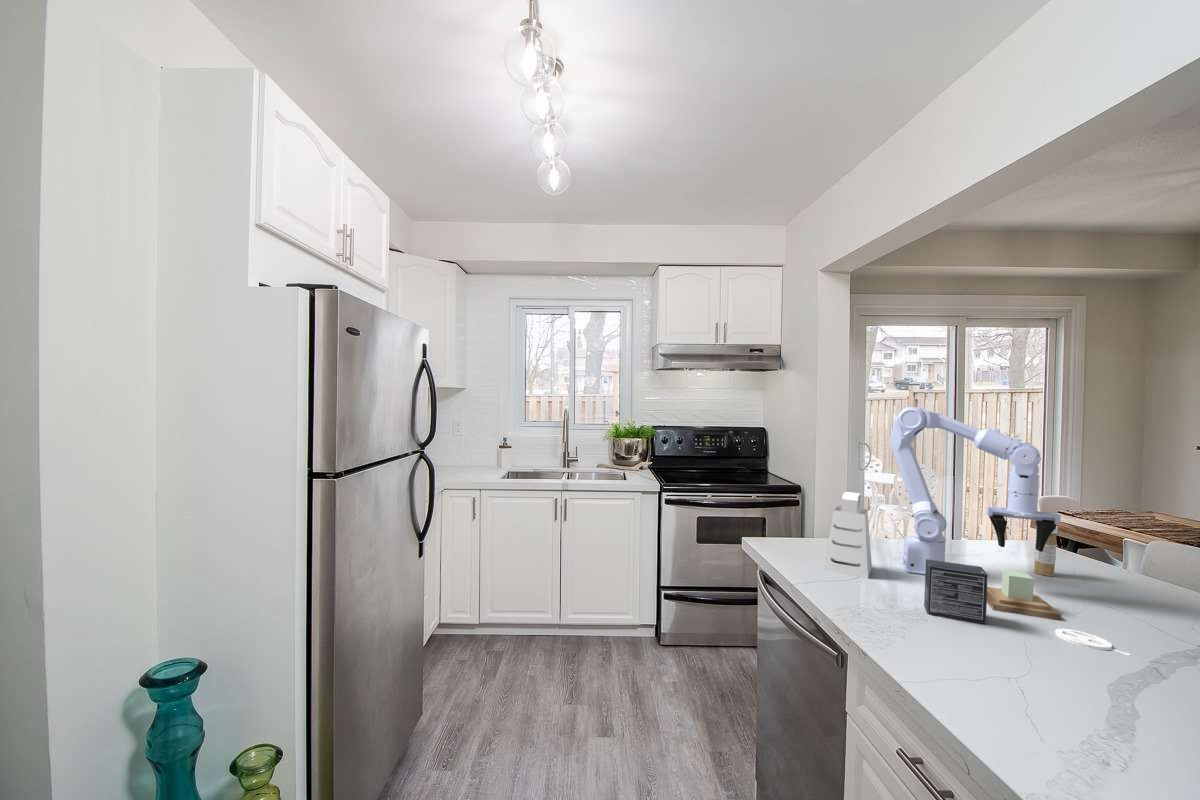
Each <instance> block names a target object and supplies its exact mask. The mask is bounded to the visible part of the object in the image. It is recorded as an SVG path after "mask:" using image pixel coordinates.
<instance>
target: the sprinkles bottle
mask: <svg viewBox="0 0 1200 800" xmlns="http://www.w3.org/2000/svg"><path fill="white" fill-rule="evenodd" d="M1058 531H1059V530H1058V526H1057V525H1056V529H1055V530H1054V531H1053V532H1052V533H1051V535H1050V536H1049V538H1048V539H1047V541H1046V544H1045V546H1044V549H1043V552H1040V551H1038V550H1036V543H1035V545H1034V566H1033V567H1034V569H1033V572H1034V573H1035V574H1038V575H1042V576H1046V577H1054V576H1055V574H1056V573H1055V569H1056V568H1055V565H1056V556H1057V555H1056V554H1057V535H1058ZM1035 532H1036V533H1035V534H1036V535H1035V539H1036V538H1037V529H1036V528H1035Z"/></svg>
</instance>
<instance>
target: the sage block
mask: <svg viewBox="0 0 1200 800" xmlns="http://www.w3.org/2000/svg"><path fill="white" fill-rule="evenodd" d="M1001 573H1002V574H1001V591H1002V592H1003V593H1004V594H1005V595H1006V596H1007V597H1008V598H1013V599H1019V600H1026V601H1033V594H1034V584H1035V582H1034V581H1035V580H1034V578H1033V577H1032V576H1031V575H1029V574H1028V573H1027V572H1022V571H1015V570H1007V569H1002V570H1001Z"/></svg>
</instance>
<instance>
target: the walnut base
mask: <svg viewBox="0 0 1200 800" xmlns="http://www.w3.org/2000/svg"><path fill="white" fill-rule="evenodd" d="M1001 588H1002V587H1001ZM1001 588H1000V587H999V588H998V587H992V586H987V606H989V607H990V608H991V609H992V610H993V611H999V612H1005V613H1011V614H1017V615H1018V614H1019V615H1024V616H1031V617H1037V618H1043V619H1050V620H1057V621H1061V620H1062V614H1061V613H1060V612H1059V611H1058V610H1056V609H1055V608H1054V607H1053V606H1051V605H1050V604H1049V603H1048V602H1047V601H1045V600H1044V599H1043V598H1042V597H1041V596H1040V595H1038V594H1035V593H1033V601H1026V600H1019V599H1013V598H1008V597H1007V596H1006V595H1005V594H1004V593H1003V592H1002V591H1001Z"/></svg>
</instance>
